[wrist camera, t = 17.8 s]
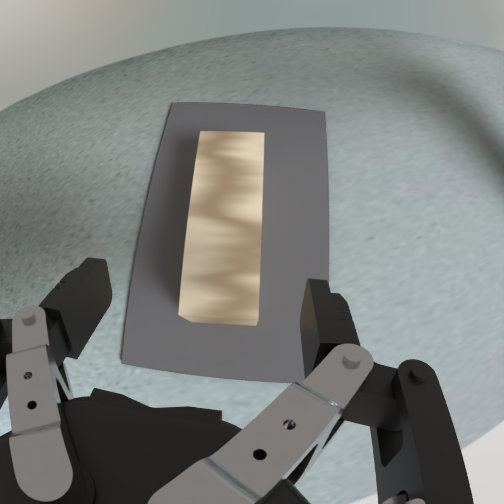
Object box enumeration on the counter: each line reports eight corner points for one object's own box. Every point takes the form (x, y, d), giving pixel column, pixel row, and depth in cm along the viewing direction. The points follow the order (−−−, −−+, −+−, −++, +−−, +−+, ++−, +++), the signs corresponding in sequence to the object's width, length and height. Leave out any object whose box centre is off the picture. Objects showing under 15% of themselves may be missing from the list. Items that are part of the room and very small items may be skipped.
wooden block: (256, 325, 25) (261, 166, 29) (258, 319, 20) (264, 132, 24) (191, 322, 25) (206, 164, 29) (178, 314, 20) (200, 131, 24)
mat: (323, 114, 32) (324, 111, 31) (322, 383, 24) (323, 383, 23) (173, 105, 32) (172, 102, 31) (123, 363, 24) (121, 363, 23)
